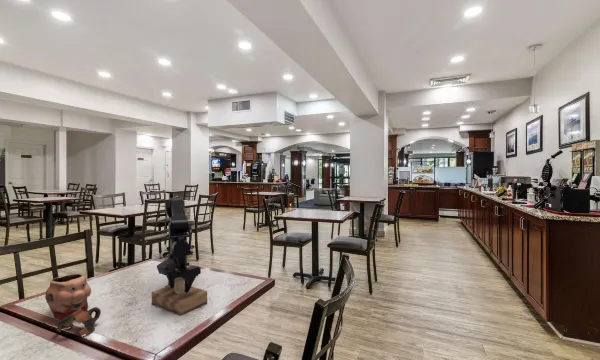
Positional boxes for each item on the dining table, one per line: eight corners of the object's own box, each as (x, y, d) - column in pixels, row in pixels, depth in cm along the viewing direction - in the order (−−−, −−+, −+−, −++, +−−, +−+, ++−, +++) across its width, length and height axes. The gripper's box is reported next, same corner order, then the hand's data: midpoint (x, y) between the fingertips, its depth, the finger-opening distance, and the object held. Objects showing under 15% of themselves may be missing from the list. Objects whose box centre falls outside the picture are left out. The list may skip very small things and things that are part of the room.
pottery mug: (74, 344, 89) (59, 322, 89) (61, 350, 93) (47, 328, 93) (111, 317, 100) (98, 297, 99) (98, 323, 104) (86, 304, 104)
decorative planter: (32, 316, 106) (31, 278, 106) (70, 303, 117) (69, 268, 117) (65, 328, 98) (64, 286, 98) (102, 312, 109) (102, 275, 109)
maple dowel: (172, 302, 116) (172, 279, 116) (180, 299, 119) (180, 276, 119) (178, 304, 114) (178, 280, 114) (186, 300, 117) (186, 278, 117)
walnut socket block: (151, 304, 116) (151, 291, 116) (178, 294, 126) (178, 282, 126) (180, 315, 106) (180, 301, 106) (207, 303, 117) (207, 291, 117)
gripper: (145, 252, 114) (146, 292, 114) (176, 258, 104) (176, 302, 104) (171, 246, 124) (171, 283, 124) (201, 252, 114) (201, 292, 114)
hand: (179, 290), depth 116 cm, fingers open, 9 cm apart
